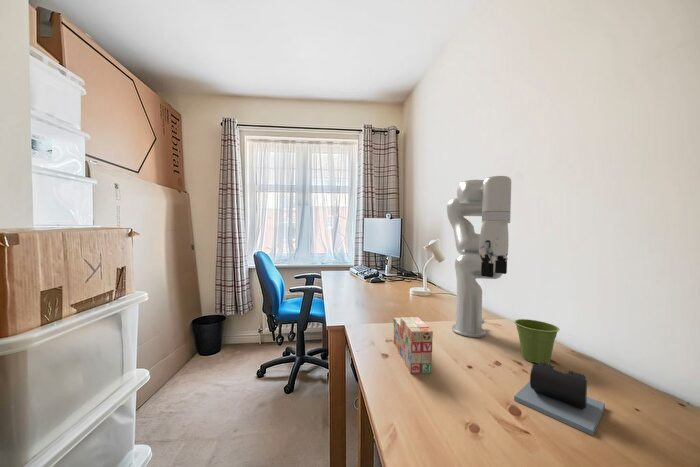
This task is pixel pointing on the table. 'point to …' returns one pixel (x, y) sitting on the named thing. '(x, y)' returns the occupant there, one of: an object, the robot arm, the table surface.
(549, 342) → the plant pot
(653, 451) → the table surface
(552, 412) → the slate mat
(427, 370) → the stack of blocks
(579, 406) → the end cap
